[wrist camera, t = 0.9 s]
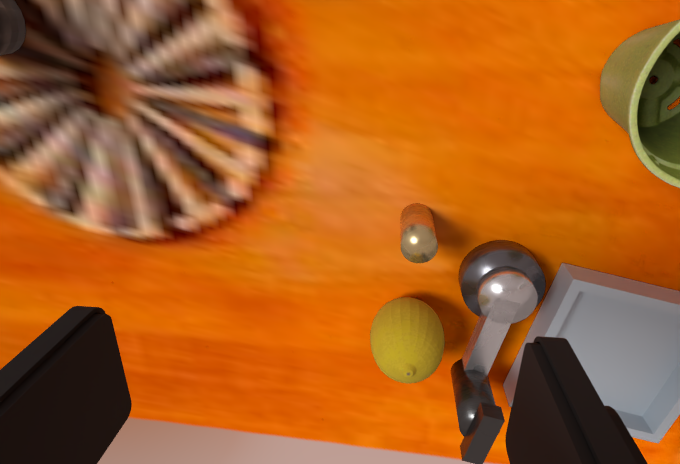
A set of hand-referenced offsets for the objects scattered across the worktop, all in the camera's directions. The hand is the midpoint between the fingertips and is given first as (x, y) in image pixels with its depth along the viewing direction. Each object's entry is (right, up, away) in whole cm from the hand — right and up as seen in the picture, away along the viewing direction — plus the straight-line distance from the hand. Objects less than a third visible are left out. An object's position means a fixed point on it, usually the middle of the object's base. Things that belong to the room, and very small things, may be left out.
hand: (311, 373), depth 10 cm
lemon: (+6, -3, +28) cm, 29 cm away
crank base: (+10, +1, +25) cm, 27 cm away
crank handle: (+12, -5, +25) cm, 28 cm away
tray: (+22, -6, +27) cm, 36 cm away
